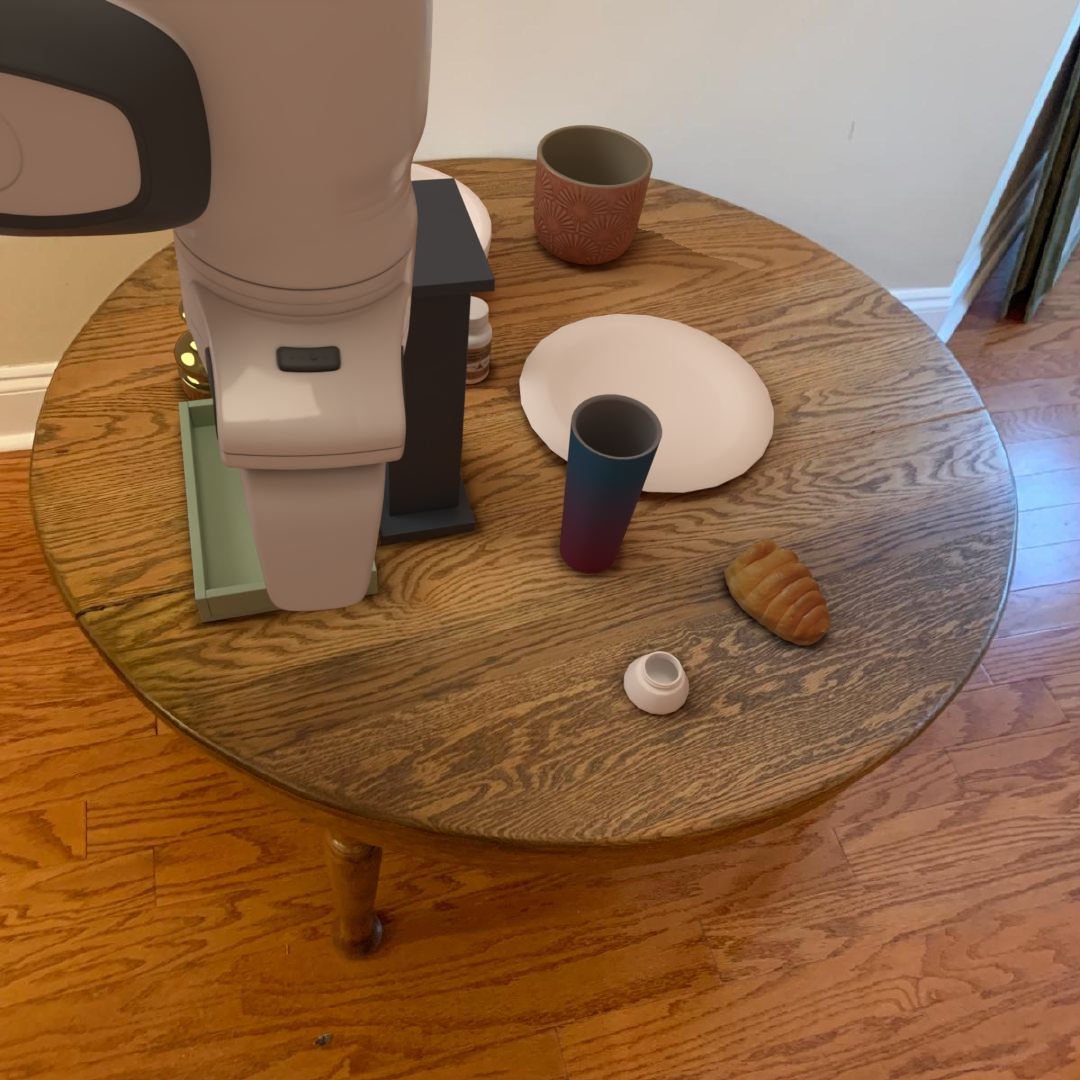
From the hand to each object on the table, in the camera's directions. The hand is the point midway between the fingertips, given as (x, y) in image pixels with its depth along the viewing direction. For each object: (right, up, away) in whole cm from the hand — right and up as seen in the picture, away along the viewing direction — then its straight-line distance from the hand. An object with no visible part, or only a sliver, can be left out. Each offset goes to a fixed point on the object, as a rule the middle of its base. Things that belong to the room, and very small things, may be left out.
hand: (304, 501), depth 49 cm
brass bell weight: (-18, +13, +43) cm, 48 cm away
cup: (+16, -3, +35) cm, 38 cm away
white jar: (+21, -14, +27) cm, 37 cm away
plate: (+22, +11, +47) cm, 53 cm away
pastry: (+31, -7, +34) cm, 47 cm away
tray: (-11, +1, +34) cm, 36 cm away
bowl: (-5, +24, +54) cm, 60 cm away
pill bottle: (+5, +15, +47) cm, 50 cm away
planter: (+17, +32, +63) cm, 73 cm away
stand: (+1, +3, +37) cm, 37 cm away
